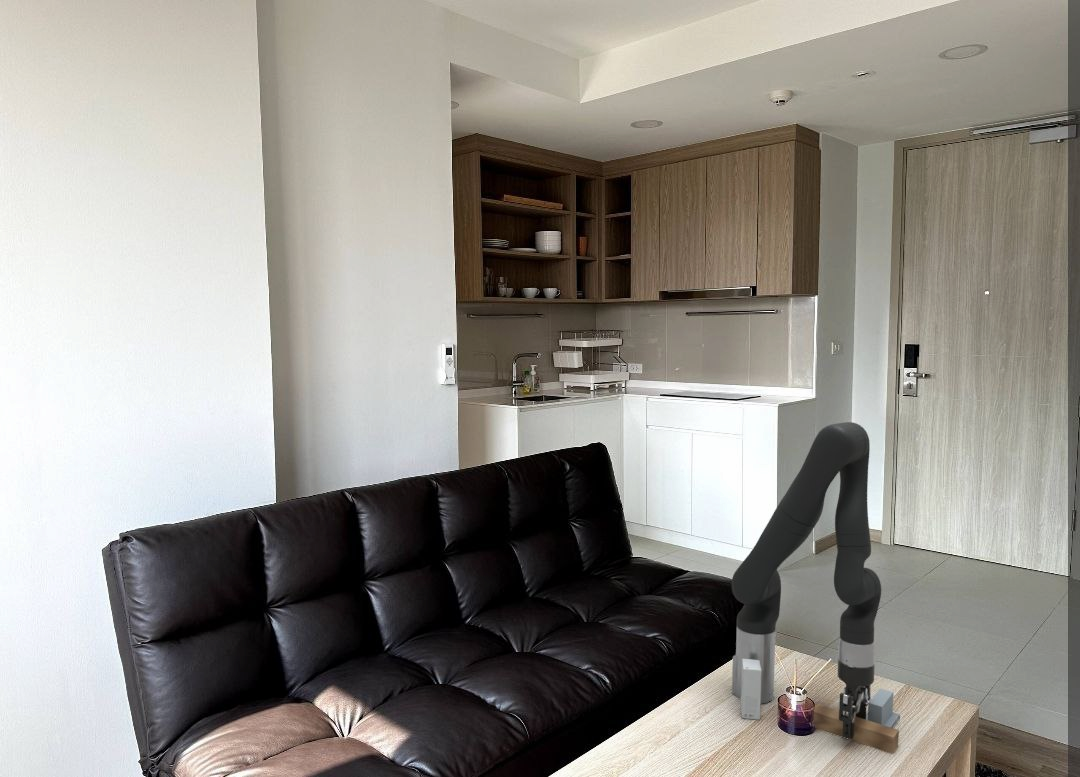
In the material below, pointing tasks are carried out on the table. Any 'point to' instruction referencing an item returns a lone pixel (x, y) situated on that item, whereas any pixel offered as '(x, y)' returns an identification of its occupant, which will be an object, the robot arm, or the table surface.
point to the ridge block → (882, 709)
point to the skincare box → (750, 689)
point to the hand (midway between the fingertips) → (854, 729)
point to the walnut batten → (857, 729)
